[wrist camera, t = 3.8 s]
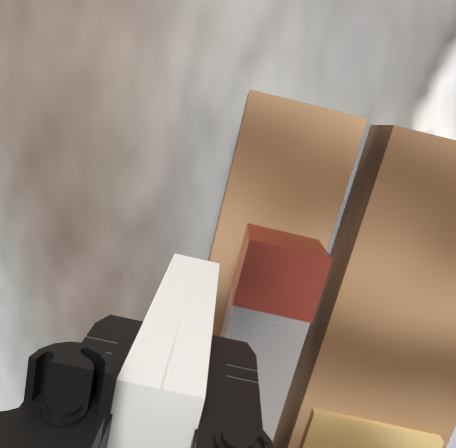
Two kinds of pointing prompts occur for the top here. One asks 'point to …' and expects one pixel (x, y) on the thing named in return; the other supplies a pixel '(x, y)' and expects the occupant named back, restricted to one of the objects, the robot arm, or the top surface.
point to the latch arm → (275, 307)
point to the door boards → (355, 270)
